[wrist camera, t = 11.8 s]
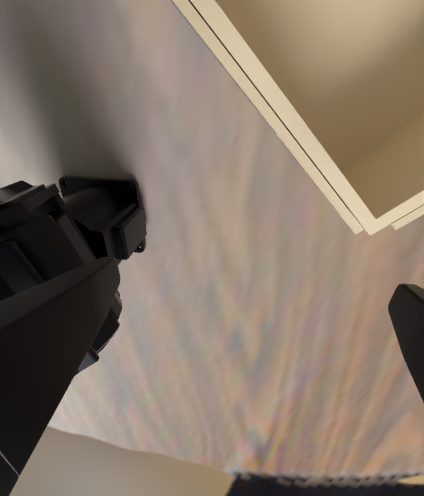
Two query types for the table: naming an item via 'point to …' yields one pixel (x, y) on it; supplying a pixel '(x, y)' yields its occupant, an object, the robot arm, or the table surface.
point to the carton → (333, 92)
